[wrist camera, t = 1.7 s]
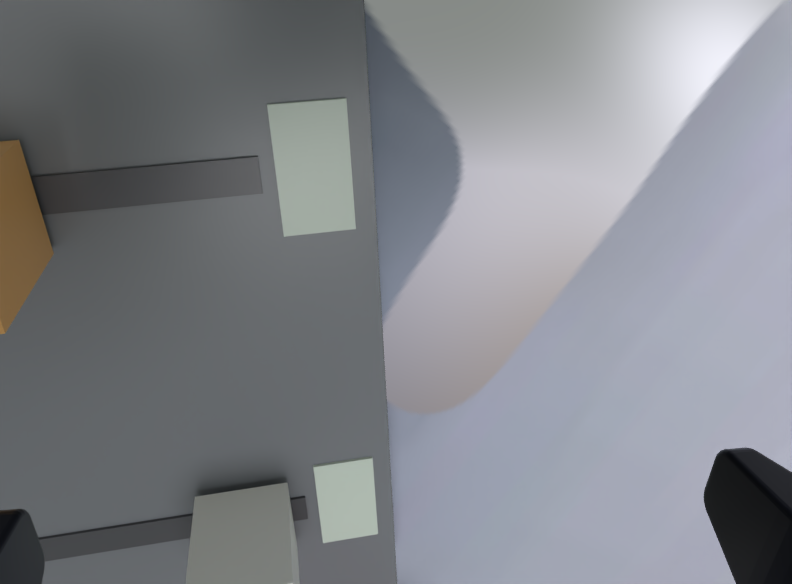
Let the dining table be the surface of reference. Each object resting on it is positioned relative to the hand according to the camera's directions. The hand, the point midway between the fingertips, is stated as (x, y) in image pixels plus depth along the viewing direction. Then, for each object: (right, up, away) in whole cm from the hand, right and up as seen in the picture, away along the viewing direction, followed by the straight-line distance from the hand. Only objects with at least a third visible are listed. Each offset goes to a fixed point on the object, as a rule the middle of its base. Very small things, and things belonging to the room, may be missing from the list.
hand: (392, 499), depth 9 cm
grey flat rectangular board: (-11, +1, +14) cm, 17 cm away
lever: (-5, -5, +14) cm, 16 cm away
